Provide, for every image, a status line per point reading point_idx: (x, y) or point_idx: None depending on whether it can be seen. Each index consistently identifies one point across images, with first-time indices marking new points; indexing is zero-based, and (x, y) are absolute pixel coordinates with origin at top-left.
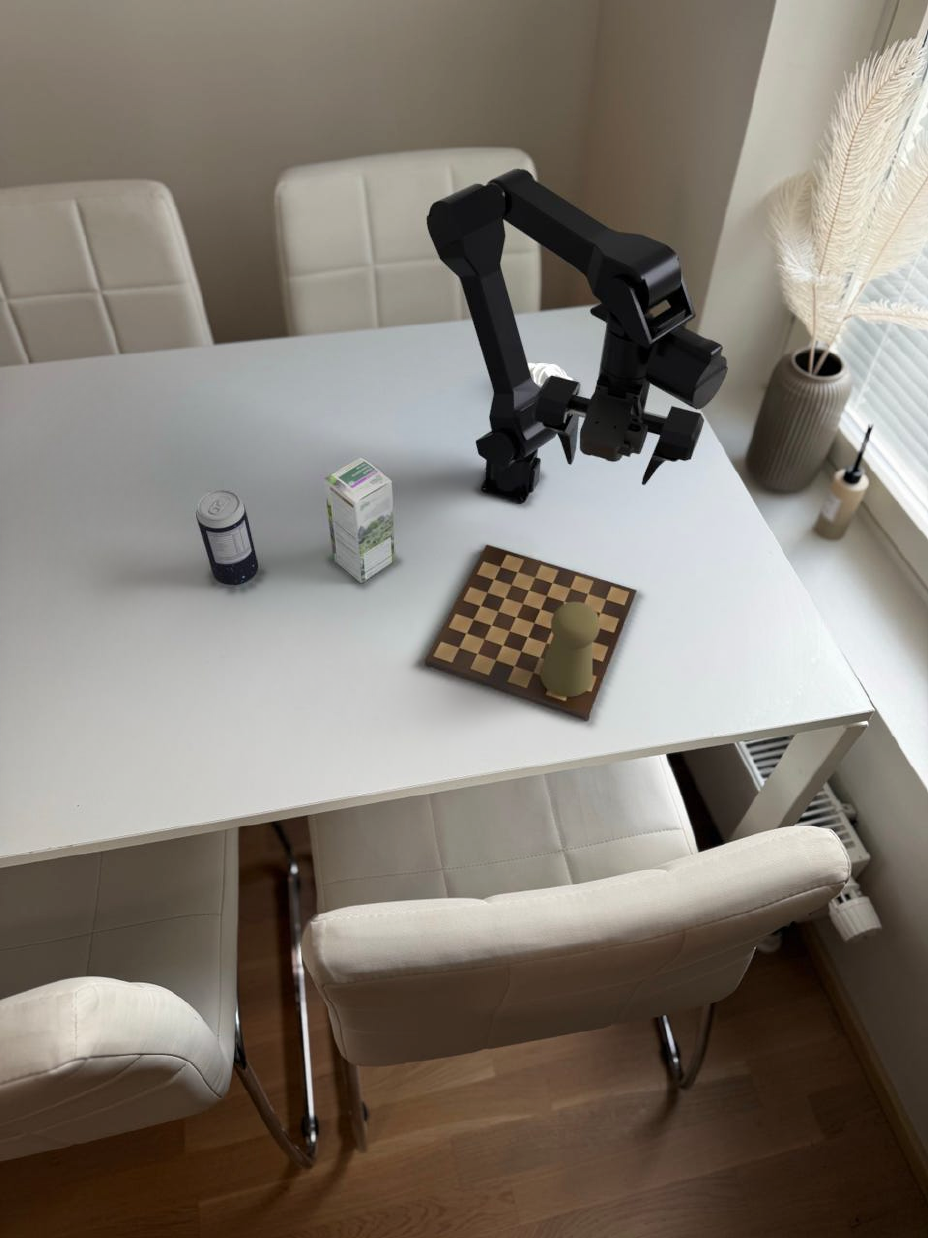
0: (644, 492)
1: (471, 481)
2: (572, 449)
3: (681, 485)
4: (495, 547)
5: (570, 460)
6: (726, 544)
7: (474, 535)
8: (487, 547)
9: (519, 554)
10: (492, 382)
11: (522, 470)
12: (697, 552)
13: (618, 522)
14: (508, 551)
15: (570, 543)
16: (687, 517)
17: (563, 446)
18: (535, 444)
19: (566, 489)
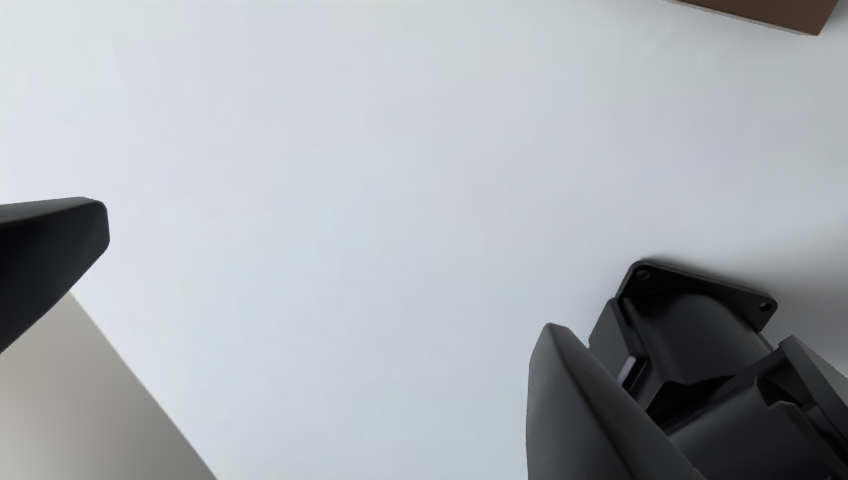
0: (305, 324)
1: (793, 330)
2: (568, 422)
3: (227, 349)
4: (783, 22)
5: (561, 342)
6: (75, 174)
7: (831, 104)
8: (818, 17)
9: (684, 2)
10: None
11: (677, 353)
12: (132, 134)
13: (355, 218)
14: (730, 9)
15: (488, 116)
16: (189, 254)
17: (670, 448)
18: (716, 456)
19: (504, 320)
